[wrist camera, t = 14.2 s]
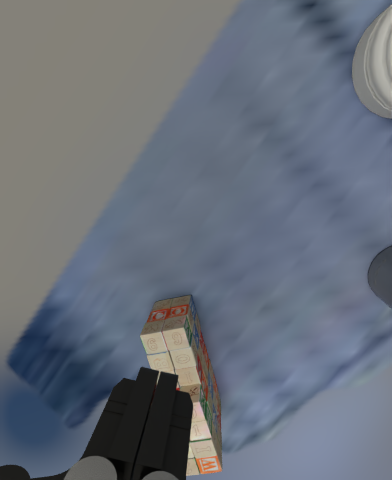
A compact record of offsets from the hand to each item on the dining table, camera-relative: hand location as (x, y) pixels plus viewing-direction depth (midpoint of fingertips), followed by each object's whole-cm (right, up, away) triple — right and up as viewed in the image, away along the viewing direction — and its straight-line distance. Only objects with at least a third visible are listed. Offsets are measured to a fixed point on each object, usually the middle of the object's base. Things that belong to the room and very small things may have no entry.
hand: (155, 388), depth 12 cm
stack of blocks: (0, -13, +39) cm, 41 cm away
